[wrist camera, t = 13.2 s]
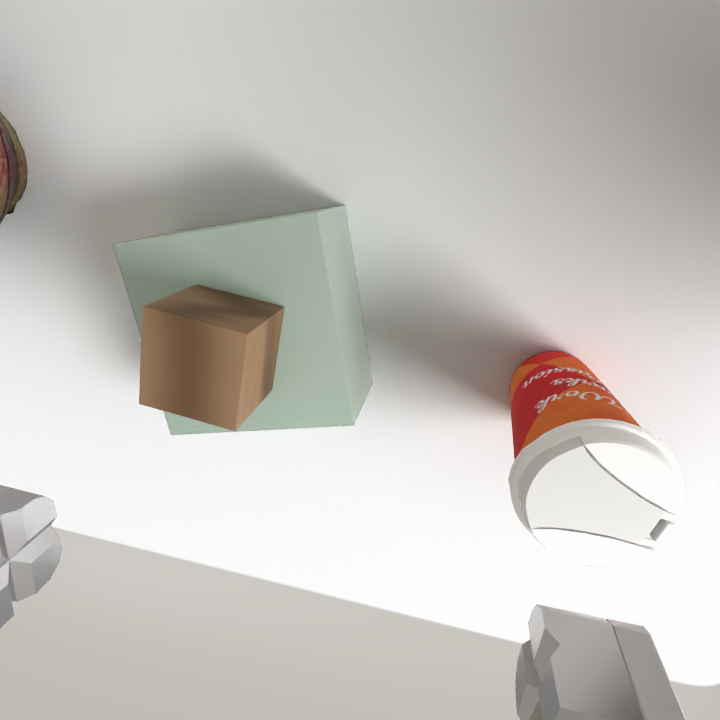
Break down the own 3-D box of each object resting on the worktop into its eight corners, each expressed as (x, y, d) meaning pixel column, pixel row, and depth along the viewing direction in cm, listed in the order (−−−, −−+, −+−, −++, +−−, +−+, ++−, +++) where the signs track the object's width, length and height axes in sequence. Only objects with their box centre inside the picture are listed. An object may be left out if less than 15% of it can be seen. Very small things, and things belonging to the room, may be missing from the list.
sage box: (345, 205, 37) (316, 212, 29) (373, 380, 41) (353, 425, 34) (177, 231, 40) (112, 244, 33) (219, 391, 44) (171, 435, 37)
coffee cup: (630, 361, 36) (734, 475, 23) (574, 450, 40) (635, 598, 26) (522, 318, 37) (559, 404, 23) (475, 410, 40) (483, 534, 26)
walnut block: (284, 306, 32) (247, 334, 26) (272, 389, 34) (235, 431, 28) (197, 284, 32) (142, 306, 27) (190, 367, 35) (139, 403, 29)
